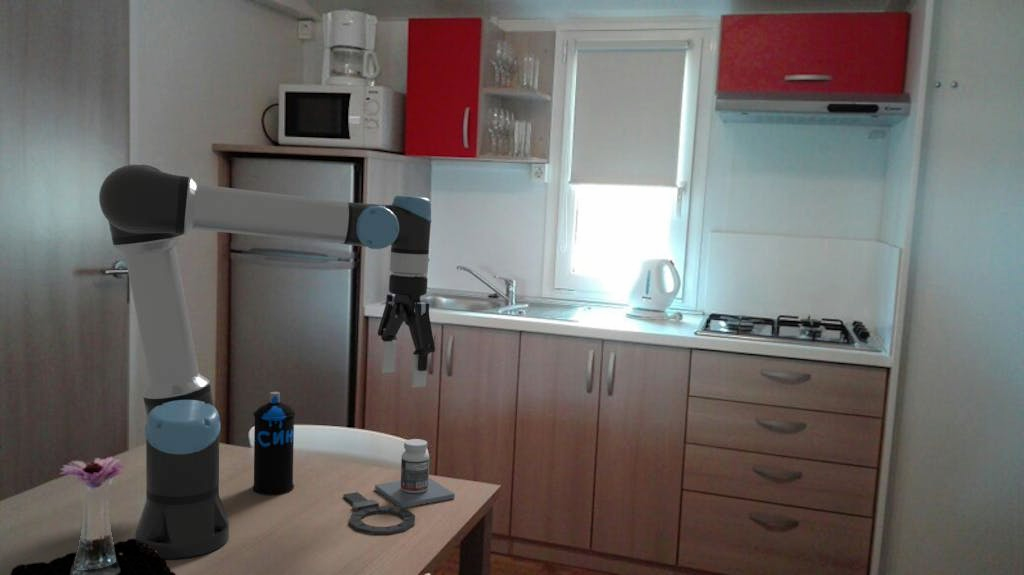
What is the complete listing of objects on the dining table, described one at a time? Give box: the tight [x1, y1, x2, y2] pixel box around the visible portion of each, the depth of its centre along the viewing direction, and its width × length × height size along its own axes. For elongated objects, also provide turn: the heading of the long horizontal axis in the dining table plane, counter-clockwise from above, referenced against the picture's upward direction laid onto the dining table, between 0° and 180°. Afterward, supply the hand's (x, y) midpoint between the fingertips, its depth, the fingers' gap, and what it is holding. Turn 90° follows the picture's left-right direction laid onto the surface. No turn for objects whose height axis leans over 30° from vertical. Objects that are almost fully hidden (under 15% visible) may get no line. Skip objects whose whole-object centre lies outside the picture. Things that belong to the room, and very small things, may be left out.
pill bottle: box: [400, 438, 430, 493], centre depth 174 cm, size 6×6×10 cm
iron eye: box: [342, 491, 416, 535], centre depth 163 cm, size 12×21×1 cm, turn 34°
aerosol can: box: [252, 391, 296, 496], centre depth 173 cm, size 8×8×20 cm
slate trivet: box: [374, 477, 456, 509], centre depth 175 cm, size 12×12×1 cm
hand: (402, 379), depth 171 cm, fingers open, 13 cm apart
